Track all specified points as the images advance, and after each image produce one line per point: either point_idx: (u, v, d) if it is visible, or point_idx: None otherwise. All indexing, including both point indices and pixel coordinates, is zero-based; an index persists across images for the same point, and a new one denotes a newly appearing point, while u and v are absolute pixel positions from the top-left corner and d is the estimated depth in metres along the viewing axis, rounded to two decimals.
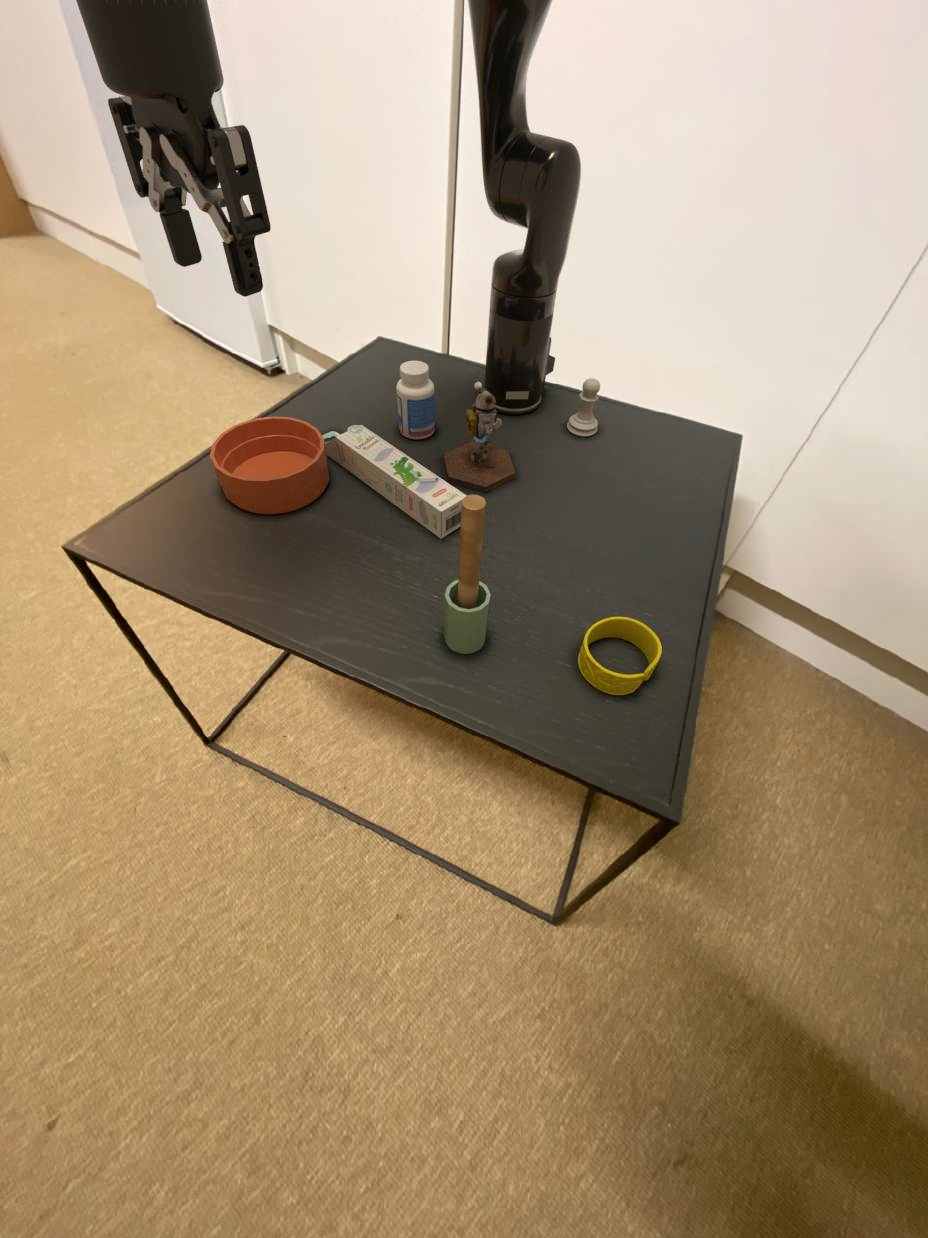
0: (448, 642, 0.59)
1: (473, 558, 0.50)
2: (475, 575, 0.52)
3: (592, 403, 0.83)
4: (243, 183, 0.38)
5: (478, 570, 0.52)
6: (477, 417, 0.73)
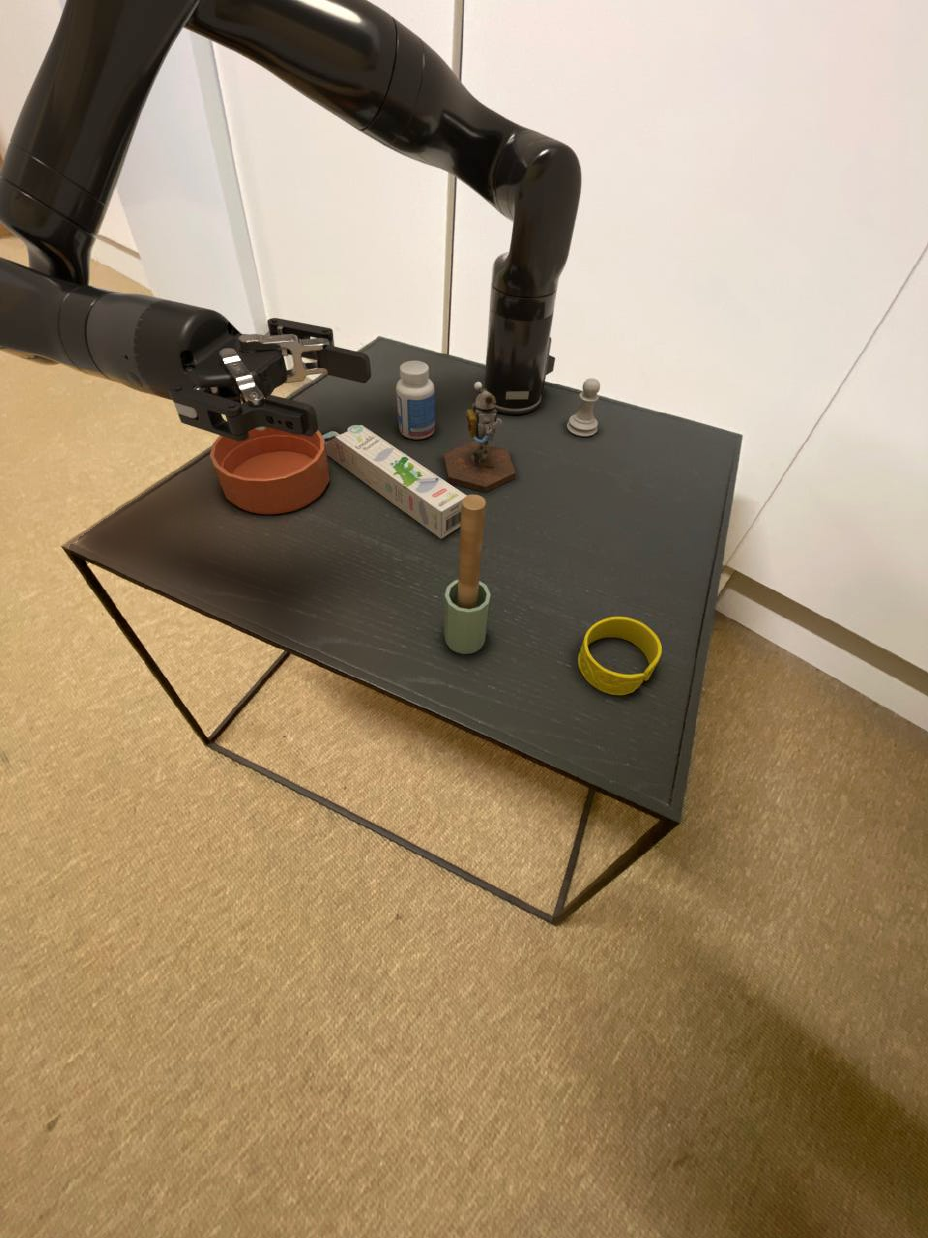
0: (448, 642, 0.59)
1: (473, 558, 0.50)
2: (475, 575, 0.52)
3: (592, 403, 0.83)
4: (202, 418, 0.41)
5: (478, 570, 0.52)
6: (477, 417, 0.73)
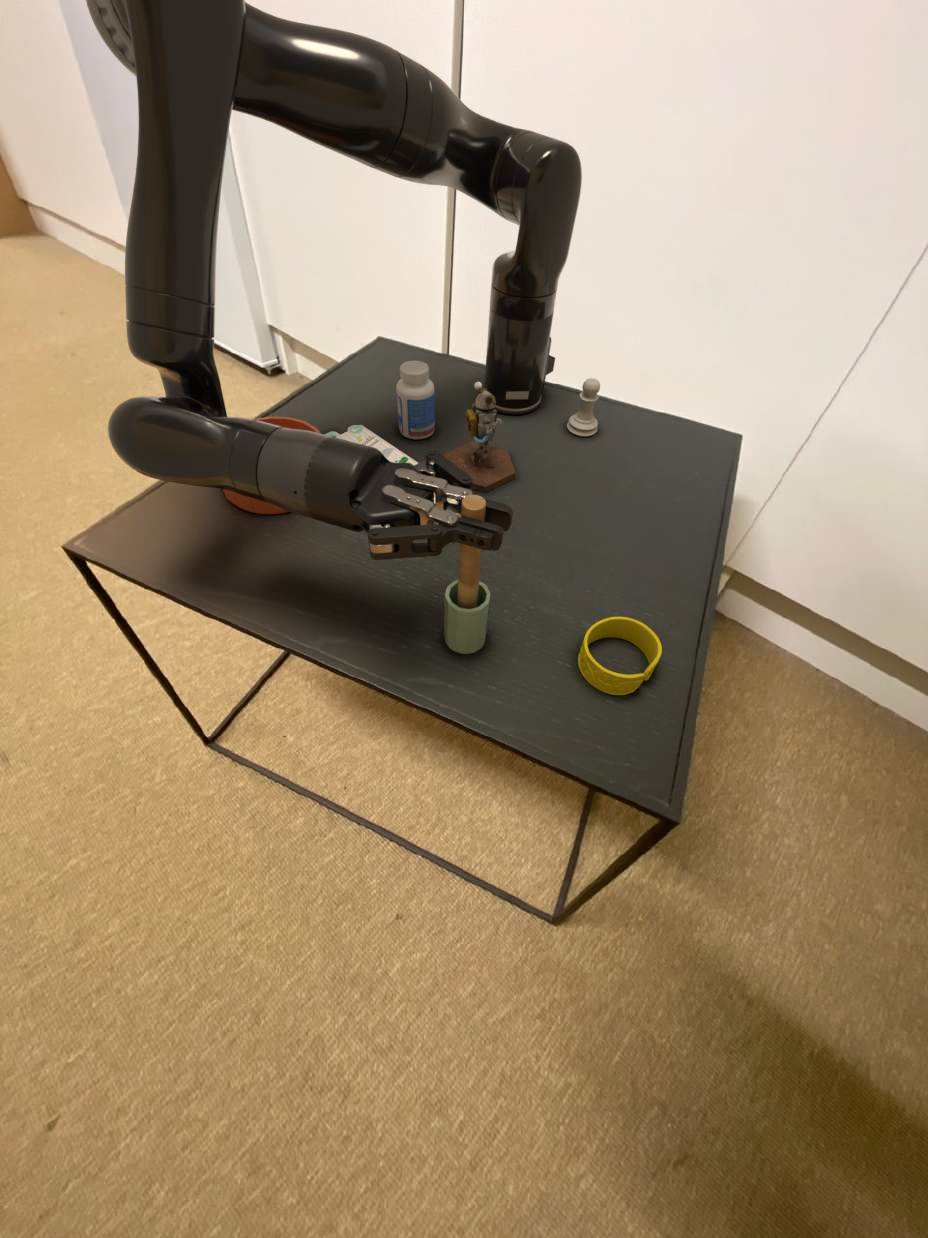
0: (448, 642, 0.59)
1: (473, 558, 0.50)
2: (475, 575, 0.52)
3: (592, 403, 0.83)
4: (404, 549, 0.46)
5: (478, 570, 0.52)
6: (477, 417, 0.73)
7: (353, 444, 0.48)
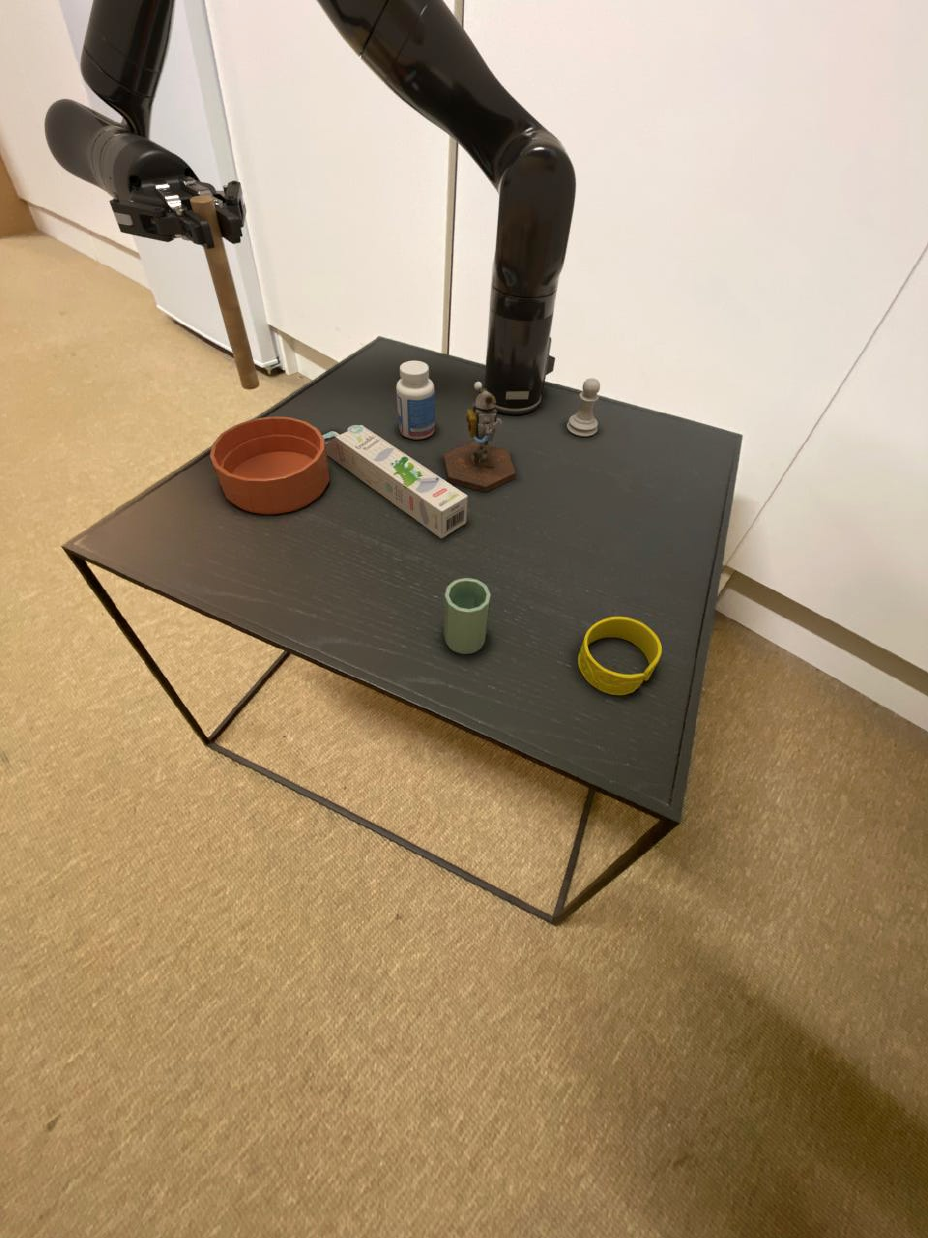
0: (448, 642, 0.59)
1: (213, 269, 0.56)
2: (224, 296, 0.57)
3: (592, 403, 0.83)
4: (136, 223, 0.53)
5: (226, 291, 0.57)
6: (477, 417, 0.73)
7: (161, 147, 0.57)
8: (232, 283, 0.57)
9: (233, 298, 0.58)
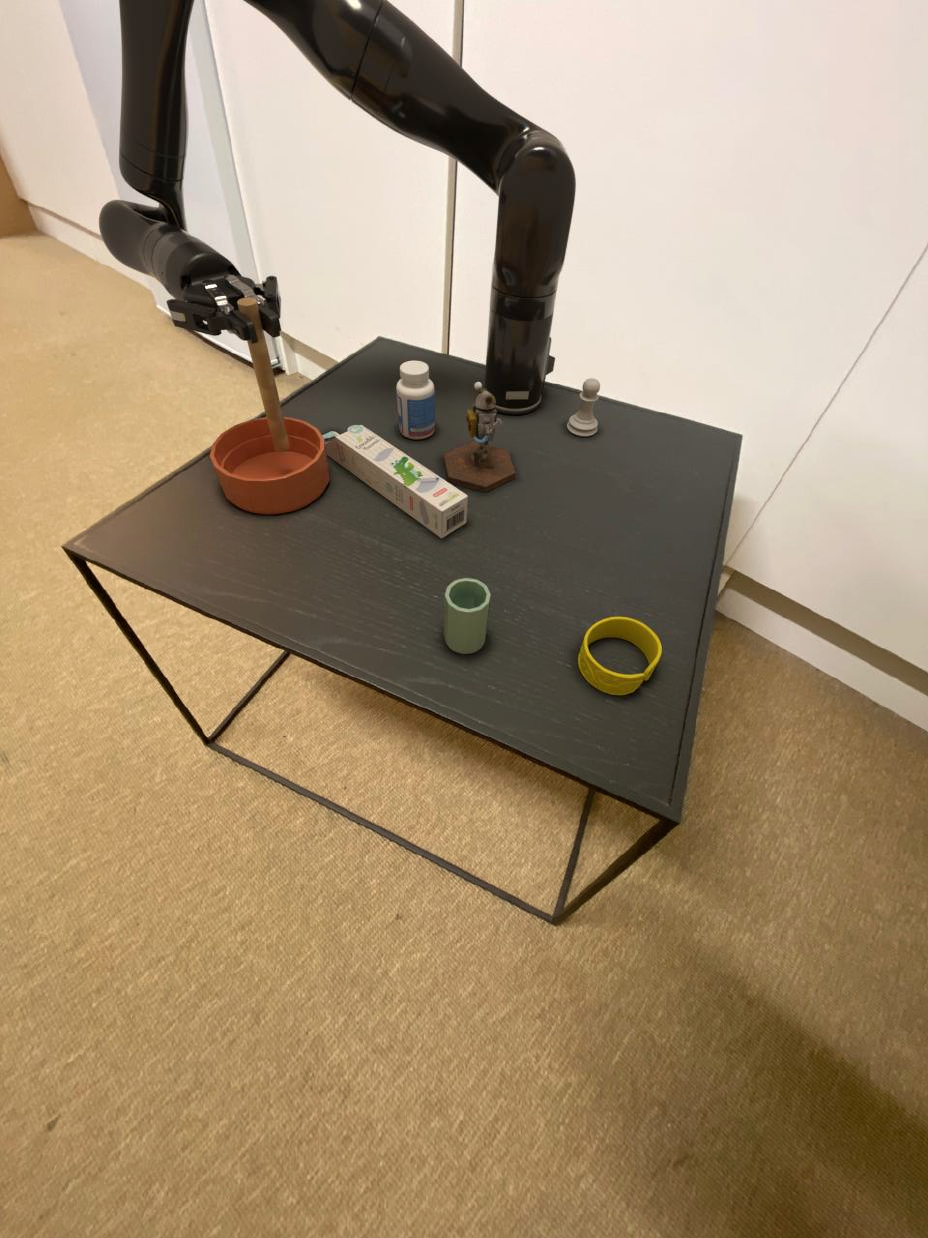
0: (448, 642, 0.59)
1: (254, 357, 0.64)
2: (263, 378, 0.65)
3: (592, 403, 0.83)
4: (189, 320, 0.61)
5: (265, 373, 0.65)
6: (477, 417, 0.73)
7: (208, 248, 0.65)
8: (270, 367, 0.65)
9: (270, 379, 0.66)
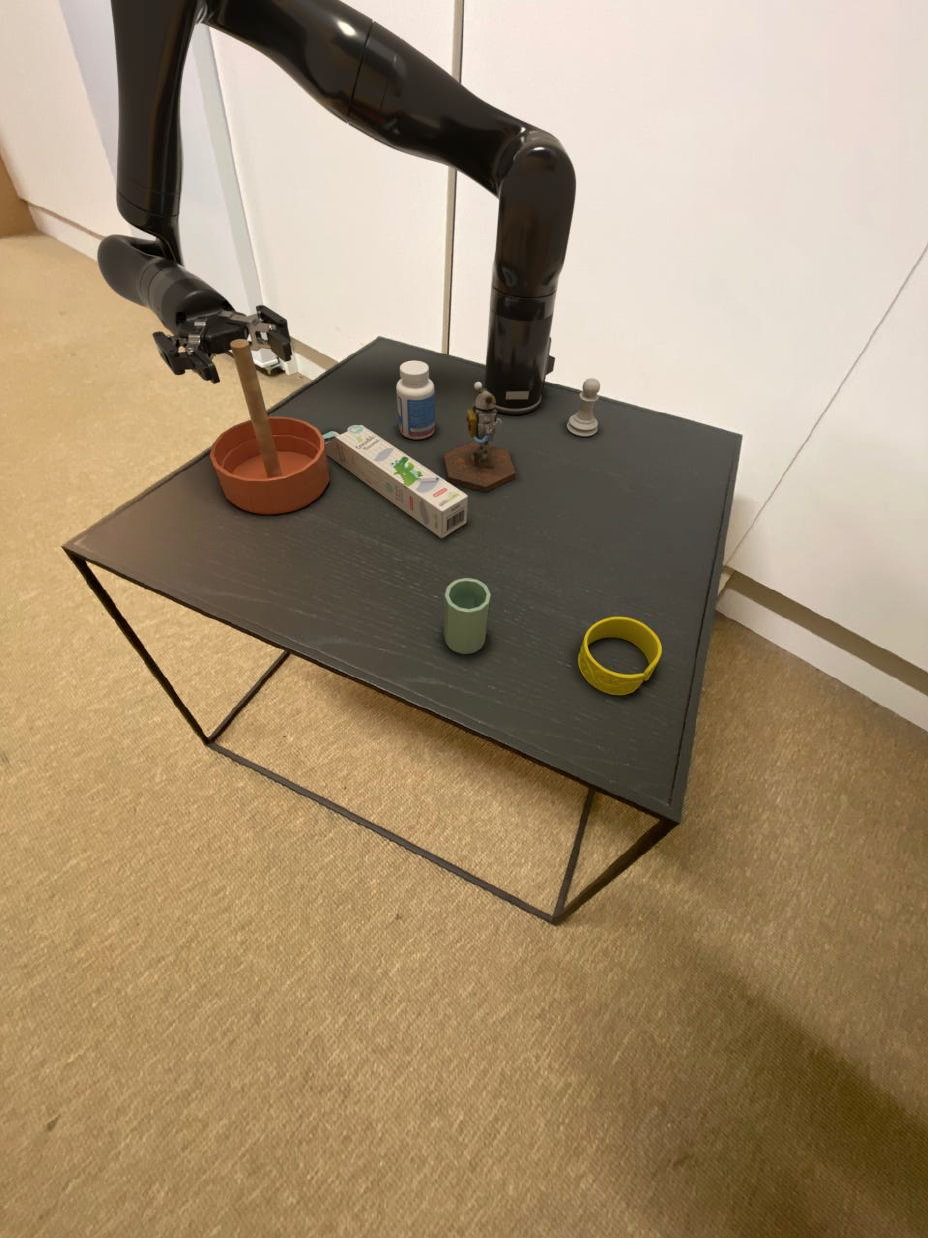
0: (448, 642, 0.59)
1: (247, 394, 0.66)
2: (256, 414, 0.68)
3: (592, 403, 0.83)
4: (163, 355, 0.63)
5: (258, 410, 0.67)
6: (477, 417, 0.73)
7: (202, 285, 0.66)
8: (262, 403, 0.67)
9: (263, 414, 0.68)
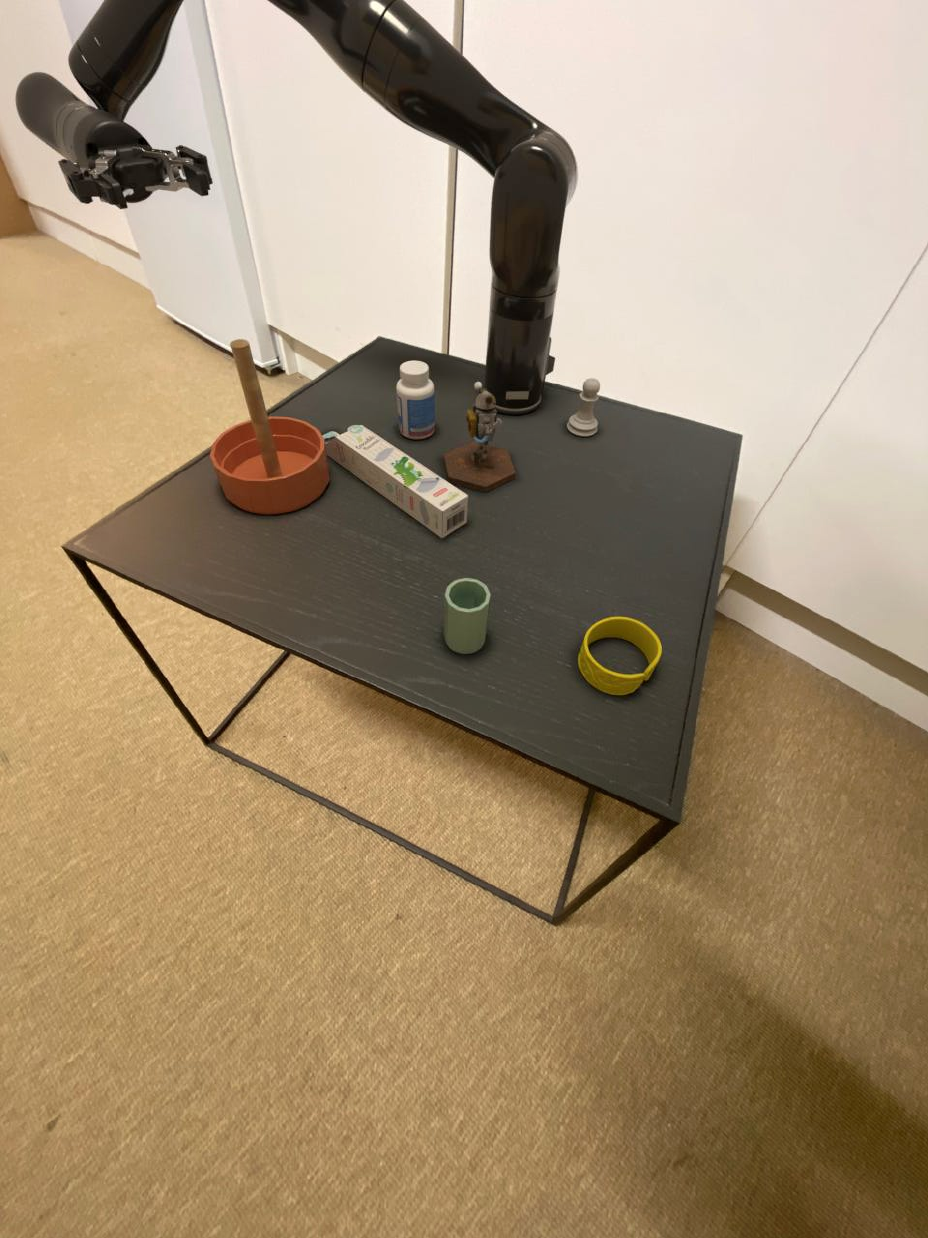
0: (448, 642, 0.59)
1: (247, 394, 0.66)
2: (256, 414, 0.68)
3: (592, 403, 0.83)
4: (69, 183, 0.59)
5: (258, 410, 0.67)
6: (477, 417, 0.73)
7: (116, 118, 0.63)
8: (262, 403, 0.67)
9: (263, 414, 0.68)
